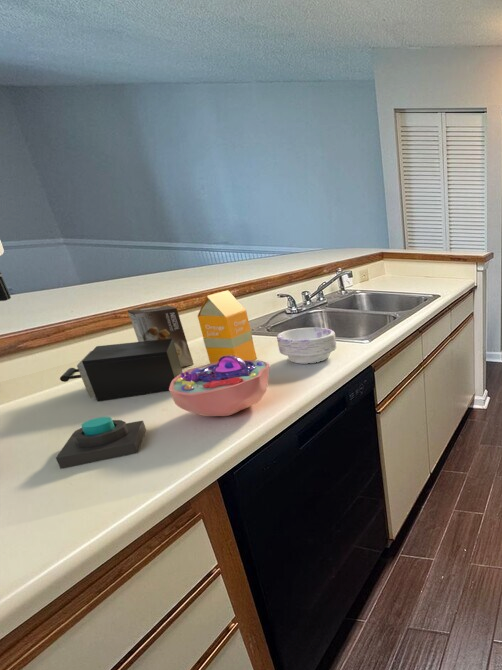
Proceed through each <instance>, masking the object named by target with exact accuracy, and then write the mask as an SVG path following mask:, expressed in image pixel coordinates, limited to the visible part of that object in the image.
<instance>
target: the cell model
mask: <svg viewBox="0 0 502 670" xmlns="http://www.w3.org/2000/svg"><path fill="white" fill-rule="evenodd" d="M182 372H183V373H181V374H180V375H178V376H177V377H175V378H174V379H173V380H172V382H171V384H170V387H169V391H168V392H169V393H170V396H171V398H172V401H173V403H174V404H175V405H176V406H177V407H178V408H180V409H181V410H184V411H186V412H188V413H193V414H195V415H198V416H202V417H228V416H231V415H234V414H236V413H239V412H241V411H243V410H246V409H248V408H251V407H253V406H254V405H256V404H257V403H259V402H260V401H261V400H262V398H263V397H265V395H266V392H267V389H268V386H269V383H270V382H269V381H270V378H269V377H270V376H269V375H270V363H269V362H267V361H265V360H259V359H258V360H257V359H255V360H242V359H241V358H239V357H236V356H232V355H226V356H223V357H221V358H220V359H219V361H218V362H217V363H211V364H210V363H208V364H204V365H201V366H198V367H194V368H190V369H188V370H187V369H186V370H185V371H182Z"/></svg>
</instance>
